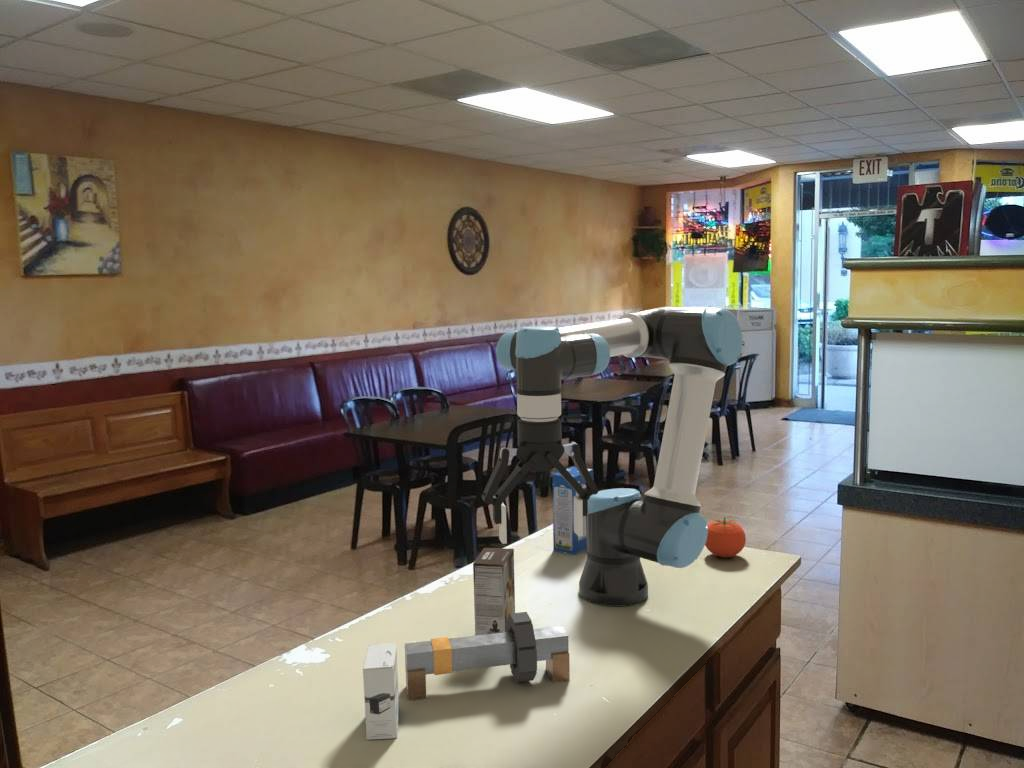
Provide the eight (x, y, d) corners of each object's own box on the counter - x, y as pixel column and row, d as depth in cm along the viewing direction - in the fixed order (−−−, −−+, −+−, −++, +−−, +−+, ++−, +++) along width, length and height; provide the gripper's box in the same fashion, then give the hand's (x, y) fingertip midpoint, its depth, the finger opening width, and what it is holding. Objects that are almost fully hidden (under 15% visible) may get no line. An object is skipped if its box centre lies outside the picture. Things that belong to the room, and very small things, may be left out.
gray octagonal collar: (523, 660, 146) (522, 603, 145) (537, 690, 136) (536, 629, 134) (507, 662, 146) (505, 605, 144) (520, 692, 135) (519, 631, 134)
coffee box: (485, 621, 164) (483, 546, 162) (516, 624, 163) (514, 548, 161) (474, 642, 155) (472, 562, 153) (506, 644, 154) (505, 564, 152)
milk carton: (573, 539, 214) (572, 466, 211) (593, 543, 210) (593, 469, 207) (553, 550, 205) (552, 474, 203) (574, 555, 202) (573, 477, 199)
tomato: (695, 551, 203) (696, 513, 201) (732, 547, 205) (733, 509, 204) (715, 565, 193) (715, 525, 192) (753, 561, 195) (754, 521, 194)
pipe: (561, 666, 145) (561, 623, 144) (569, 680, 140) (569, 635, 139) (406, 685, 139) (404, 641, 138) (408, 700, 134) (406, 654, 133)
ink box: (369, 711, 132) (366, 643, 130) (400, 709, 132) (397, 641, 130) (364, 741, 123) (361, 669, 121) (397, 739, 123) (394, 667, 122)
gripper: (601, 409, 143) (601, 524, 146) (463, 418, 138) (466, 537, 141) (616, 417, 136) (616, 537, 139) (471, 426, 130) (474, 551, 133)
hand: (541, 537), depth 140 cm, fingers open, 13 cm apart
